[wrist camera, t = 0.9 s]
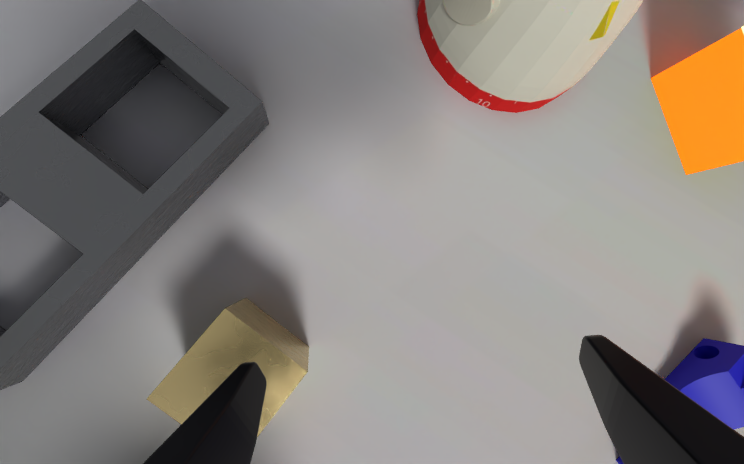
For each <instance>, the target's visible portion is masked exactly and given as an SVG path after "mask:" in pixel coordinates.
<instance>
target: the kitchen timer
mask: <svg viewBox="0 0 744 464" xmlns="http://www.w3.org/2000/svg"><path fill="white" fill-rule="evenodd" d="M642 2H643V0H419V6H418V12H417V16H418V23H419V30H420V37H421V41H422V43H423V45H424V48H425V50H426V52H427V54H428V57H429V59H430V61H431V63H432V65H433V66H434V67H435V68H436V70H437V71H438V72H439V74H440V75H441V76H442V77H443V79H444V80H445V81H446V82H447V84H448V85H450V86H451V87H452V88H454V89H455V90H456V91H457V92H459V93H460V94H461V95H463V96H464V97H465V98H467V99H468V100H469V101H472V102H474V103H477V104H479V105H482V106H484V107H486V108H489V109H491V110H497V111H506V112H515V113H517V112H522V111H527V110H532V109H537V108H540V107H541V106H543V105H545V104H547V103H548V102H550V101H552V100H553V99H555V98H557V97H558V96H560V95H561V94H563V93H564V92H566V91H567V90H568V89H570V88H571V87H573V86H574V85H575V84H576V83H577V82H579V81H580V80H581V79H582V78H583V77H584V76H585V75H586V74H587V73H588V71H589V70H590V69H591V68H592V67H593V66H594V64H595V63H596V62H597V61H598V60H599V58H600V57H601V56H602V55H603V54H604V53H605V51H606V50H607V49H608V48H609V47H610V45H611V44H612V43H613V41H614V40H615V39H616V38H617V36H618V35H619V34H620V33H621V31H622V30H623V29H624V27H625V26H626V25H627V23H628V22H629V21H630V19H631V18H632V17H633V16H634V14H635V13H636V11H637V10H638V8H639V7H640V5H641V3H642Z"/></svg>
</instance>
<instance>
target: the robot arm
mask: <svg viewBox="0 0 744 464" xmlns="http://www.w3.org/2000/svg"><path fill="white" fill-rule="evenodd" d="M579 361H580V365H581V368H582V370H583V373H584V375H585V378H586V380H587V383H588V386H589V388H590V391H591V393H592V396H593V398H594V401H595V403H596V406H597V408H598V411H599V413H600V416H601V418H602V421H603V423H604V426H605V428H606V430H607V432H608V434H609V436H610V438H611V440H612V442H613V444H614V446H615V448H616V450H617V452H618V454H619V456H620V458H621V459H622V461H623V463H624V464H744V437H743V436H742V435H740V434H739V433H738V432H736V431H735V430H733V429H732V428H731V427H729V426H728V425H727V424H725V423H724V422H722V421H721V420H720V419H718V418H717V417H715V416H714V415H713V414H711V413H710V412H709V411H707V410H706V409H704V408H703V407H702V406H700V405H699V404H697V403H696V402H695V401H693V400H692V399H690V398H689V397H688V396H686V395H685V394H684V393H682V392H681V391H679V390H678V389H677V388H675V387H674V386H672V385H671V384H670V383H668V382H667V381H666V380H664V379H663V378H661V377H660V376H659V375H657V374H656V373H654V372H653V371H652V370H650V369H649V368H647V367H646V366H645V365H643V364H642V363H641V362H639V361H638V360H636V359H635V358H634V357H632V356H631V355H629V354H628V353H627V352H625V351H624V350H623V349H621V348H620V347H618V346H617V345H616V344H614V343H613V342H611V341H610V340H609V339H607V338H606V337H604V336H602V335H590V336H585V337H584V338H583V339H582V344H581V349H580V355H579ZM266 386H267V382H266V378H265V376H264V374H263V372H262V371H261V369H260V367H259V366H258V364H257V363H256V362H245V363H242V364H240V365H239V366H238V367H237V368H236V369H235V370H234V371H233V372H232V373H231V374H230V375H229V376H228V377H227V378H226V379H225V380H224V381H223V382H222V383H221V385H220V386H219V387H218V388H217V389H216V390H215V391H214V392H213V393H212V394H211V395H210V396H209V397H208V398H207V399H206V400H205V401H204V402H203V403H202V404H201V405H200V406H199V407H198V408H197V409H196V410H195V411H194V412H193V413H192V414H191V415H190V416H189V417H188V418H187V419H186V420H185V421H184V422H183V423H182V424H181V425H180V426H179V428H178V429H177V430H176V431H175V432H174V433H173V434H172V435H171V436H170V437H169V438H168V439H167V440H166V441H165V442H164V443H163V444H162V445H161V446H160V447H159V448H158V449H157V450H156V451H155V452H154V453H153V454H152V455H151V456H150V457H149V458H148V459H147V460H146V461H145V462H144V463H143V464H250V462H251V458H252V455H253V451H254V448H255V444H256V440H257V435H258V430H259V425H260V419H261V414H262V408H263V403H264V397H265V392H266Z"/></svg>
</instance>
